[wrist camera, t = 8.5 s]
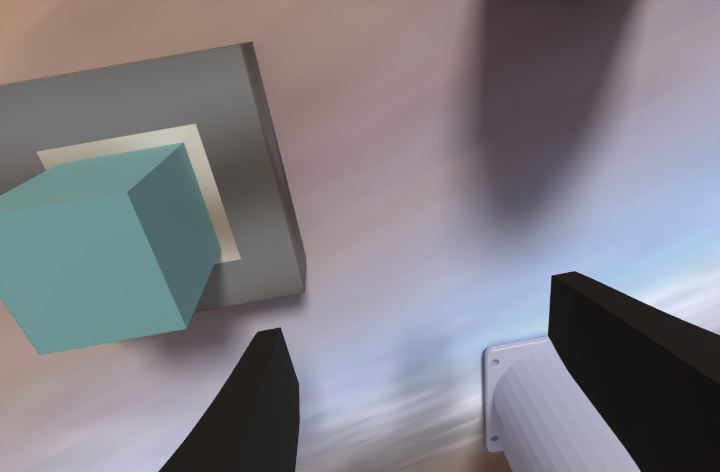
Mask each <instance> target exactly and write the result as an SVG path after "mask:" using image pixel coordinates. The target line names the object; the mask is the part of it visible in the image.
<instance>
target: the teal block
mask: <svg viewBox="0 0 720 472" xmlns="http://www.w3.org/2000/svg"><path fill="white" fill-rule="evenodd" d="M220 250H221V247H220V244H219V242H218V239H217V236H216V233H215V230H214V227H213V224H212V222H211V219H210V216H209V213H208V210H207V207H206V204H205V201H204V199H203V196H202V193H201V190H200V187H199V184H198V181H197V179H196V176H195V173H194V170H193V167H192V164H191V161H190V159H189V156H188V153H187V150H186V147H185V144H184V142H182V143H176V144H170V145H165V146H159V147H153V148H147V149H141V150H135V151H129V152H123V153H117V154H112V155H106V156H100V157H94V158H88V159H82V160H76V161H70V162H64V163H60V164H58V165H56V166H54V167H52V168H51V169H49V170H47V171H45V172H43V173H41V174H39V175H38V176H36V177H34V178H32V179H30V180H28V181H26V182H25V183H23V184H21V185H19V186H17V187H15V188H13V189H12V190H10V191H8V192H6V193H4V194H2V195H0V298H1V300H2V301H3V303H4V304H5V306H6V307H7V308H8V310H9V311H10V313H11V314H12V316H13V317H14V319H15V320H16V322H17V323H18V325H19V326H20V328H21V329H22V331H23V332H24V333H25V335H26V336H27V338H28V339H29V341H30V342H31V344H32V345H33V347H34V348H35V350H36V351H37V353H38V354H39V355H43V354H49V353H54V352H60V351H66V350H71V349H77V348H83V347H88V346H94V345H99V344H105V343H111V342H116V341H122V340H127V339H133V338H139V337H144V336H150V335H155V334H161V333H167V332H172V331H178V330H183V329H187V327H188V325H189V323H190V320H191V318H192V316H193V313H194V311H195V308H196V306H197V304H198V301H199V299H200V297H201V294H202V292H203V290H204V287H205V285H206V283H207V280H208V278H209V275H210V273H211V271H212V268H213V266H214V264H215V261H216V259H217V257H218V254H219V252H220Z"/></svg>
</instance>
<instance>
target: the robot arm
mask: <svg viewBox="0 0 720 472" xmlns="http://www.w3.org/2000/svg"><path fill="white" fill-rule="evenodd" d="M495 359H496V360H495ZM493 360H494V361H493ZM485 417H486V447H487V449H488V451H489V452H499V451H503V452H504V454H505V456H506V458H507V461H508V463H509V465H510V467H511V470H512V472H720V335H718V334H715V333H713V332H710V331H708V330H705V329H703V328H701V327H698V326H696V325H693V324H691V323H688V322H686V321H683V320H681V319H679V318H677V317H674V316H672V315H670V314H667V313H665V312H663V311H661V310H658V309H656V308H654V307H652V306H650V305H647V304H645V303H643V302H641V301H639V300H637V299H634V298H632V297H630V296H628V295H626V294H624V293H622V292H620V291H617V290H615V289H613V288H611V287H609V286H607V285H605V284H603V283H600V282H598V281H596V280H594V279H592V278H589V277H587V276H585V275H583V274H580V273H578V272H575V271H574V272H568V273H563V274H558V275H553V276H552V279H551V295H550V311H549V327H548V336H544V337H539V338H534V339H528V340H523V341H518V342H512V343H507V344H502V345H496V346H492V347H489V348H488V349H487V350H486V351H485ZM299 422H300V414H299V383H298V380H297V377H296V374H295V371H294V367H293V364H292V361H291V358H290V355H289V352H288V349H287V346H286V343H285V340H284V337H283V333H282V330H281V327H280V328H275V329H269V330H264V331H259V332H257V333H256V335H255V336H254V338H253V339H252V341H251V342H250V344H249V346H248V347H247V349H246V351H245V352H244V354H243V356H242V357H241V359H240V360H239V362H238V364H237V365H236V367H235V368H234V370H233V372H232V373H231V375H230V376H229V378H228V379H227V381H226V382H225V384H224V385H223V387H222V388H221V390H220V392H219V393H218V395H217V396H216V398H215V399H214V400H213V402H212V403H211V405H210V406H209V408H208V409H207V410H206V412H205V413H204V414H203V416H202V417H201V419H200V420H199V421H198V423H197V424H196V426H195V427H194V428H193V430H192V431H191V432H190V434H189V435H188V436H187V438H186V439H185V440H184V441H183V443H182V444H181V445H180V446H179V448H178V449H177V450H176V451H175V453H174V454H173V455H172V456H171V457H170V459H169V460H168V461H167V462H166V463H165V465H164V466H163V467H162V468H161V469H160V470H159V472H295V466H296V456H297V445H298V434H299Z"/></svg>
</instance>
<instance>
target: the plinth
mask: <svg viewBox="0 0 720 472" xmlns="http://www.w3.org/2000/svg"><path fill="white" fill-rule="evenodd" d="M182 142H184V144H185V147H186V150H187V153H188V156H189V159H190V161H191V164H192V167H193V170H194V173H195V176H196V179H197V181H198V184H199V187H200V190H201V193H202V196H203V199H204V201H205V204H206V207H207V210H208V213H209V216H210V219H211V222H212V224H213V227H214V230H215V233H216V236H217V239H218V242H219V244H220V247H221V250H220V252H219V254H218V257H217V259H216V261H215V264H214V266H213V268H212V271H211V273H210V275H209V278H208V280H207V283H206V285H205V287H204V290H203V292H202V294H201V297H200V299H199V301H198V304H197V306H196V308H195V311H194V312H200V311H205V310H211V309H216V308H222V307H227V306H233V305H238V304H244V303H249V302H254V301H260V300H265V299H271V298H276V297H282V296H287V295H293V294H298V293H304V292H305V276H306V255H305V251H304V247H303V243H302V239H301V235H300V231H299V227H298V223H297V219H296V215H295V211H294V207H293V203H292V199H291V195H290V191H289V187H288V183H287V179H286V175H285V171H284V167H283V163H282V159H281V155H280V151H279V147H278V143H277V139H276V135H275V131H274V127H273V123H272V119H271V115H270V111H269V107H268V103H267V99H266V95H265V91H264V87H263V83H262V79H261V75H260V71H259V67H258V63H257V59H256V55H255V51H254V47H253V42H248V43H243V44H237V45H231V46H225V47H219V48H214V49H208V50H202V51H196V52H190V53H185V54H179V55H173V56H167V57H162V58H156V59H150V60H144V61H138V62H133V63H127V64H121V65H115V66H110V67H104V68H98V69H92V70H86V71H81V72H75V73H69V74H63V75H58V76H52V77H46V78H40V79H34V80H29V81H23V82H17V83H11V84H6V85H0V195H2V194H4V193H6V192H8V191H10V190H12V189H13V188H15V187H17V186H19V185H21V184H23V183H25V182H26V181H28V180H30V179H32V178H34V177H36V176H38V175H39V174H41V173H43V172H45V171H47V170H49V169H51V168H52V167H54V166H56V165H58V164H60V163H64V162H70V161H76V160H82V159H88V158H94V157H100V156H106V155H112V154H117V153H123V152H129V151H135V150H141V149H147V148H153V147H159V146H165V145H170V144H176V143H182Z"/></svg>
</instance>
